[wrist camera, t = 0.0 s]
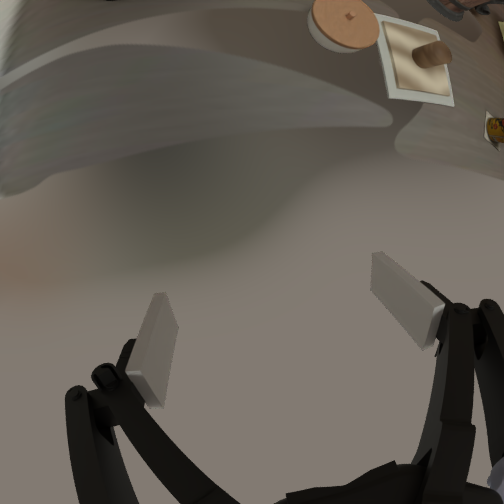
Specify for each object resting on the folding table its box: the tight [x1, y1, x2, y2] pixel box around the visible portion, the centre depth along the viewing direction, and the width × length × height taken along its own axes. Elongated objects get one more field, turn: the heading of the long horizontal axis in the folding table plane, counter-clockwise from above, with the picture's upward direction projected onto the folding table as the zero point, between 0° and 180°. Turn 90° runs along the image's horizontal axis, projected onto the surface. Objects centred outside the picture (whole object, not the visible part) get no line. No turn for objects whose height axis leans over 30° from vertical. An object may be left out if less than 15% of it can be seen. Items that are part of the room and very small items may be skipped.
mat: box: [374, 13, 454, 107], centre depth 34 cm, size 18×18×1 cm
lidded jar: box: [307, 0, 380, 53], centre depth 28 cm, size 11×11×9 cm
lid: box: [381, 21, 452, 96], centre depth 30 cm, size 14×14×8 cm
